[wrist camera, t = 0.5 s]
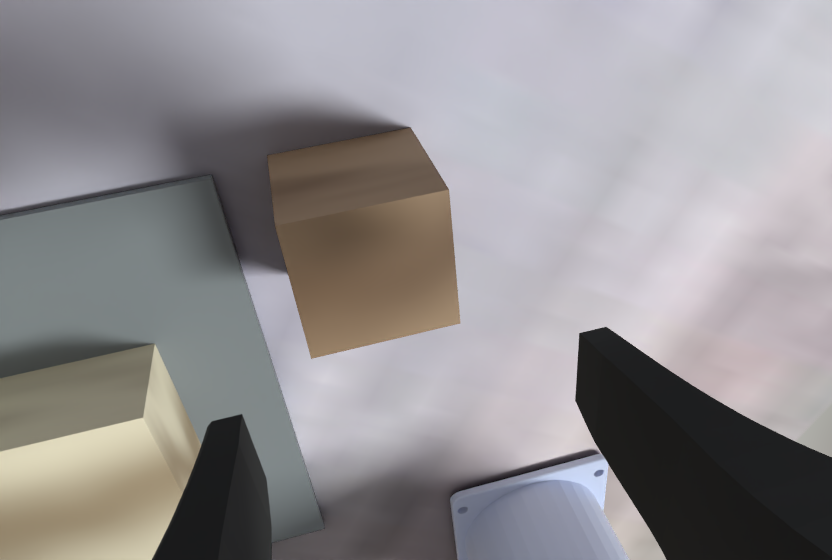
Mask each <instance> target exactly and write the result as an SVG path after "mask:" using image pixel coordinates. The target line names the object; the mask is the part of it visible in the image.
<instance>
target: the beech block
mask: <svg viewBox="0 0 832 560" xmlns="http://www.w3.org/2000/svg"><path fill="white" fill-rule="evenodd" d="M200 448H201V443H200V441H199V439H198V437H197V435H196V432H195V430H194V428H193V426H192V424H191V421H190V419H189V417H188V415H187V413H186V410H185V408H184V406H183V404H182V402H181V400H180V397H179V395H178V393H177V391H176V389H175V386H174V384H173V382H172V380H171V378H170V376H169V373H168V371H167V369H166V367H165V365H164V362H163V360H162V358H161V356H160V354H159V351H158V349H157V347H156V345H155V344H151V345H146V346H142V347H137V348H133V349H129V350H124V351H120V352H115V353H111V354H106V355H102V356H97V357H93V358H89V359H84V360H80V361H75V362H71V363H66V364H62V365H57V366H53V367H48V368H44V369H40V370H35V371H31V372H26V373H22V374H17V375H13V376H8V377H4V378H0V560H152V558H153V556H154V554H155V552H156V550H157V548H158V546H159V544H160V542H161V540H162V538H163V536H164V534H165V532H166V530H167V528H168V526H169V524H170V521H171V519H172V517H173V515H174V512H175V510H176V508H177V505H178V503H179V501H180V498H181V496H182V494H183V492H184V489H185V487H186V485H187V482H188V479H189V477H190V474H191V472H192V469H193V467H194V464H195V461H196V459H197V456H198V453H199V450H200Z"/></svg>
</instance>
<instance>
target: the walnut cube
mask: <svg viewBox="0 0 832 560" xmlns="http://www.w3.org/2000/svg"><path fill="white" fill-rule="evenodd" d="M267 158H268V168H269V177H270V186H271V195H272V204H273V213H274V222H275V228H276V232H277V235H278V239H279V243H280V246H281V250H282V254H283V257H284V261H285V264H286V268H287V272H288V275H289V279H290V283H291V286H292V290H293V294H294V297H295V301H296V304H297V308H298V312H299V315H300V319H301V323H302V326H303V330H304V334H305V337H306V341H307V344H308V348H309V352H310V355H311V359H312V358H316V357H320V356H325V355H329V354H333V353H337V352H341V351H346V350H350V349H354V348H358V347H363V346H367V345H371V344H375V343H379V342H384V341H388V340H392V339H396V338H400V337H405V336H409V335H413V334H417V333H421V332H426V331H430V330H434V329H438V328H442V327H447V326H451V325H455V324H459V323H460V314H459V302H458V290H457V278H456V267H455V255H454V243H453V232H452V220H451V208H450V197H449V189H448V187H447V186H446V184H445V182H444V181H443V179H442V178H441V176H440V174H439V173H438V171H437V170H436V168H435V166H434V165H433V163H432V161H431V160H430V158H429V157H428V155H427V153H426V152H425V150H424V148H423V147H422V145H421V144H420V142H419V140H418V139H417V137H416V135H415V134H414V132H413V131H412V129H411V128H405V129H400V130H395V131H390V132H385V133H380V134H374V135H369V136H364V137H359V138H354V139H349V140H344V141H338V142H333V143H328V144H323V145H318V146H313V147H308V148H302V149H297V150H292V151H287V152H282V153H277V154H271V155H267Z"/></svg>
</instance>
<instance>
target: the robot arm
mask: <svg viewBox="0 0 832 560" xmlns="http://www.w3.org/2000/svg"><path fill="white" fill-rule="evenodd" d="M575 401H576V403H577V405H578V407H579V409H580V412H581V414H582V416H583V418H584V421H585V423H586V425H587V427H588V429H589V431H590V433H591V435H592V437H593V439H594V441H595V443H596V445H597V446H598V448H599V450H600V451H601V453H602V454H603V455H602V454H596V455H593V456H589V457H585V458H581V459H578V460H574V461H570V462H567V463H563V464H559V465H555V466H552V467H548V468H544V469H541V470H537V471H533V472H529V473H526V474H522V475H518V476H514V477H511V478H507V479H503V480H500V481H496V482H492V483H488V484H485V485H481V486H477V487H474V488H470V489H466V490H462V491H459V492H456V493H455V494H453V495H452V497H451V499H450V504H451V512H452V520H453V528H454V536H455V544H456V553H457V560H629V558H628V556H627V554H626V552H625V550H624V549H623V547H622V545H621V543H620V541H619V539H618V538H617V536H616V534H615V532H614V530H613V529H612V527H611V525H610V523H609V521H608V519H607V518H606V516H605V514H604V512H603V510H604V500H605V491H606V482H607V473H608V464H609V466H610V467H611V469H612V470H613V472H614V474H615V475H616V477H617V478H618V480H619V481H620V483H621V485H622V486H623V488H624V489H625V491H626V492H627V494H628V496H629V497H630V499H631V500H632V502H633V503H634V505H635V507H636V508H637V510H638V511H639V513H640V515H641V516H642V518H643V519H644V521H645V522H646V524H647V526H648V527H649V529H650V530H651V532H652V534H653V536H654V537H655V539H656V541H657V542H658V544H659V546H660V548H661V549H662V551H663V553H664V555H665V557H666V559H667V560H832V457H829V456H827V455H825V454H822V453H819V452H817V451H815V450H813V449H810V448H808V447H806V446H804V445H802V444H799V443H797V442H795V441H793V440H791V439H789V438H787V437H785V436H783V435H780V434H778V433H776V432H774V431H772V430H770V429H768V428H766V427H764V426H762V425H760V424H758V423H756V422H754V421H753V420H751V419H749V418H747V417H745V416H743V415H741V414H740V413H738V412H736V411H734V410H733V409H731V408H729V407H727V406H726V405H724V404H722V403H721V402H719V401H717V400H715V399H714V398H712V397H710V396H709V395H707V394H705V393H704V392H702V391H700V390H699V389H697V388H696V387H694V386H692V385H691V384H689V383H688V382H686V381H685V380H683V379H682V378H680V377H679V376H677V375H675V374H674V373H672V372H671V371H669V370H668V369H666V368H665V367H663V366H662V365H660V364H659V363H658V362H656V361H655V360H653V359H652V358H650V357H649V356H647V355H646V354H644V353H643V352H642V351H640V350H639V349H637V348H636V347H634V346H633V345H632V344H630V343H629V342H627V341H626V340H624V339H623V338H622V337H620V336H619V335H617V334H616V333H614V332H613V331H611V330H610V329H608V328H607V327H604V328H600V329H595V330H591V331H587V332H583V333H579V350H578V366H577V383H576V399H575ZM152 560H272V525H271V515H270V505H269V496H268V487H267V478H266V476H265V473H264V471H263V468H262V465H261V463H260V460H259V457H258V455H257V452H256V449H255V447H254V444H253V441H252V439H251V436H250V433H249V431H248V428H247V426H246V423H245V420H244V418H243V415H242V414H240V415H236V416H232V417H227V418H223V419H219V420H215V421H211V423H210V424H209V425H208V427H207V430H206V433H205V436H204V439H203V442H202V445H201V448H200V450H199V453H198V456H197V459H196V461H195V464H194V467H193V469H192V472H191V474H190V477H189V479H188V482H187V485H186V487H185V489H184V492H183V494H182V496H181V498H180V501H179V503H178V505H177V508H176V510H175V512H174V515H173V517H172V519H171V521H170V524H169V526H168V528H167V530H166V532H165V534H164V536H163V538H162V540H161V542H160V544H159V546H158V548H157V550H156V552H155V554H154V556H153V558H152Z"/></svg>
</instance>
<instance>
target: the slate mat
mask: <svg viewBox="0 0 832 560" xmlns="http://www.w3.org/2000/svg"><path fill="white" fill-rule="evenodd" d="M151 344H155V345H156V347H157V349H158V351H159V354H160V356H161V358H162V360H163V362H164V365H165V367H166V369H167V371H168V373H169V376H170V378H171V380H172V382H173V384H174V386H175V389H176V391H177V393H178V395H179V397H180V400H181V402H182V404H183V406H184V408H185V410H186V413H187V415H188V417H189V419H190V421H191V424H192V426H193V428H194V430H195V432H196V435H197V437H198V439H199V441H200V443H201V445H202V442H203V439H204V436H205V433H206V430H207V427H208V425H209V424H210V423H211V421H215V420H219V419H223V418H227V417H232V416H236V415H240V414H242V415H243V418H244V420H245V423H246V426H247V428H248V431H249V433H250V436H251V439H252V441H253V444H254V447H255V449H256V452H257V455H258V457H259V460H260V463H261V465H262V468H263V471H264V473H265V476H266V478H267V487H268V496H269V505H270V515H271V525H272V543H274V542H277V541H281V540H285V539H288V538H292V537H296V536H300V535H303V534H307V533H311V532H314V531H318V530H322V529H325V527H324V522H323V518H322V515H321V512H320V509H319V506H318V503H317V500H316V497H315V494H314V491H313V487H312V484H311V481H310V478H309V475H308V472H307V469H306V466H305V463H304V460H303V456H302V453H301V450H300V447H299V444H298V441H297V438H296V435H295V432H294V429H293V425H292V422H291V419H290V416H289V413H288V410H287V407H286V404H285V401H284V398H283V394H282V391H281V388H280V385H279V382H278V379H277V376H276V373H275V370H274V367H273V364H272V360H271V357H270V354H269V351H268V348H267V345H266V342H265V339H264V336H263V333H262V329H261V326H260V323H259V320H258V317H257V314H256V311H255V308H254V305H253V302H252V298H251V295H250V292H249V289H248V286H247V283H246V280H245V277H244V274H243V271H242V267H241V264H240V261H239V258H238V255H237V252H236V249H235V246H234V243H233V240H232V236H231V233H230V230H229V227H228V224H227V221H226V218H225V215H224V212H223V209H222V205H221V202H220V199H219V196H218V193H217V190H216V187H215V184H214V181H213V178H212V175H207V176H202V177H197V178H192V179H186V180H181V181H176V182H171V183H166V184H161V185H156V186H151V187H145V188H140V189H135V190H130V191H125V192H120V193H115V194H109V195H104V196H99V197H94V198H89V199H84V200H79V201H73V202H68V203H63V204H58V205H53V206H48V207H43V208H37V209H32V210H27V211H22V212H17V213H12V214H7V215H1V216H0V378H4V377H8V376H13V375H17V374H22V373H26V372H31V371H35V370H40V369H44V368H48V367H53V366H57V365H62V364H66V363H71V362H75V361H80V360H84V359H89V358H93V357H97V356H102V355H106V354H111V353H115V352H120V351H124V350H129V349H133V348H137V347H142V346H146V345H151Z"/></svg>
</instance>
